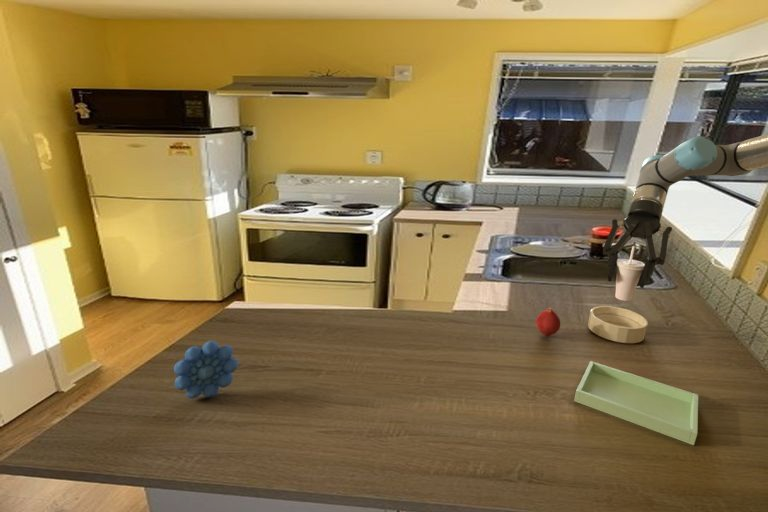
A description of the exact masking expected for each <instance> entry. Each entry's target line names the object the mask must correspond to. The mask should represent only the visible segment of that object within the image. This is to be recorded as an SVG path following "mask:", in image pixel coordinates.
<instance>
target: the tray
mask: <svg viewBox="0 0 768 512" xmlns="http://www.w3.org/2000/svg"><path fill="white" fill-rule="evenodd" d="M574 394H575V395H574V399H573V402H575V403H578V404H581V405H583V406H586V407H588V408H591V409H593V410H597V411H600V412H601V413H605V414H608V415H610V416H613V417H616V418H618V419H622V420H623V421H627V422H630V423H632V424H635V425H637V426H640V427H643V428H646V429H648V430H651V431H654V432H656V433H658V434H662V435H664V436H667V437H669V438H673V439H676V440H678V441H681V442H683V443H686V444H689V445H691V446H695V444H696V440H697V437H698V430H699V429H698V428H699V427H698V426H699V394H698V393H693V392H691V391H688V390H685V389H681V388H678V387H675V386H672V385H669V384H665V383H662V382H660V381H656V380H654V379H649V378H646V377H644V376H640V375H636V374H633V373H631V372H627V371H624V370H621V369H618V368H615V367H611V366H609V365H604V364H602V363H599V362H595V361H592V360H590V361H589V362H588V365H587V367H586V370H585V371H584V374H583V376H582V378H581V380H580V382H579V384H578V385H577V387H576V390H575V393H574Z"/></svg>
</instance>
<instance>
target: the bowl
mask: <svg viewBox="0 0 768 512" xmlns="http://www.w3.org/2000/svg"><path fill="white" fill-rule="evenodd" d="M588 316H589V317H588V321H587V327H588V329H589V330H590V331H591V332H592V333H594V334H595V335H597V336H598V337H601V338H603V339H606V340H609V341H613V342H616V343H620V344H621V343H622V344H638V343H641V342H642V341H644V340H645V337H646V332H647V329H648V325H649V321H648V320H647V319H646V318H645V317H644V316H642V315H641V314H639V313H637V312H635V311H633V310H630V309H626V308H623V307H618V306H613V305H599V306H594V307H592V308H591V309H590V312H589V315H588Z"/></svg>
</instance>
